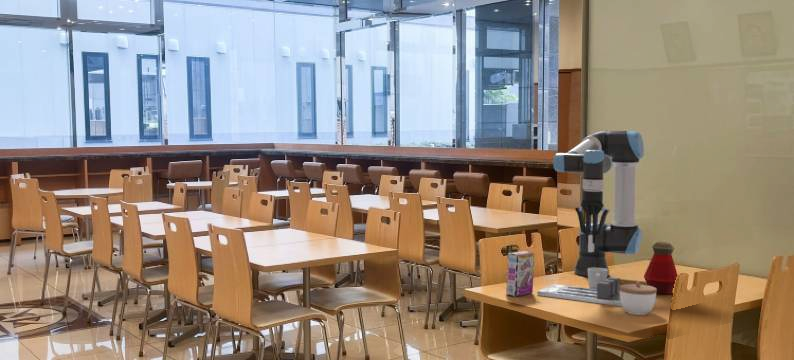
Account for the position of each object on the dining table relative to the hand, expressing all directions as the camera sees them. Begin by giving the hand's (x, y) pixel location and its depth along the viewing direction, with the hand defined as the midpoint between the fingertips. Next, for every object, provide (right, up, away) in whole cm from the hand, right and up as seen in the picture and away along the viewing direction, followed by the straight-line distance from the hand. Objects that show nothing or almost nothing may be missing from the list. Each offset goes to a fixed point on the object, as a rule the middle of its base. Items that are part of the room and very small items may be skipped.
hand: (591, 251), depth 301 cm
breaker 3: (+9, -16, +2) cm, 18 cm away
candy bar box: (-27, -17, +3) cm, 32 cm away
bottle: (+31, -18, +13) cm, 38 cm away
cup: (+7, -17, +17) cm, 25 cm away
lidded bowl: (+10, -20, -25) cm, 33 cm away
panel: (-1, -18, +1) cm, 18 cm away
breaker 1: (+3, -16, -9) cm, 19 cm away
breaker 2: (+6, -16, -3) cm, 17 cm away
